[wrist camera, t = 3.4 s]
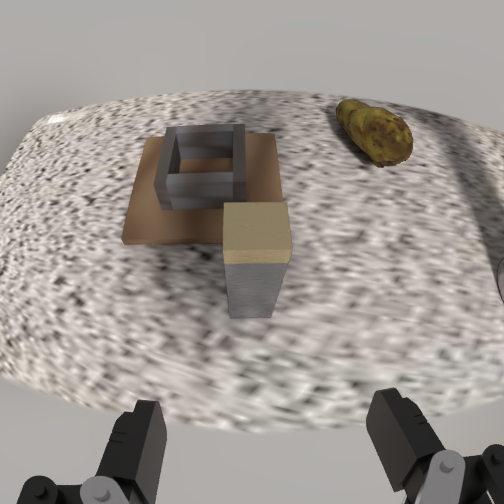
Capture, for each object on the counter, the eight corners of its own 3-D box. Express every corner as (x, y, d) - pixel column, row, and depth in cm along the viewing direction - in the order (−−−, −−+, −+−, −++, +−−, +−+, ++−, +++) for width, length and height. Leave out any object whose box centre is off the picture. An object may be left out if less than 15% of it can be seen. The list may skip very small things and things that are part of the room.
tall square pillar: (269, 285, 28) (286, 202, 17) (270, 317, 26) (292, 249, 16) (229, 286, 27) (223, 202, 17) (229, 318, 26) (222, 250, 15)
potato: (383, 126, 40) (399, 84, 33) (402, 191, 34) (429, 144, 27) (330, 116, 40) (341, 70, 33) (339, 180, 34) (358, 128, 27)
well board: (273, 139, 37) (277, 108, 32) (285, 242, 30) (293, 211, 25) (148, 143, 36) (140, 113, 32) (124, 244, 29) (107, 216, 25)
